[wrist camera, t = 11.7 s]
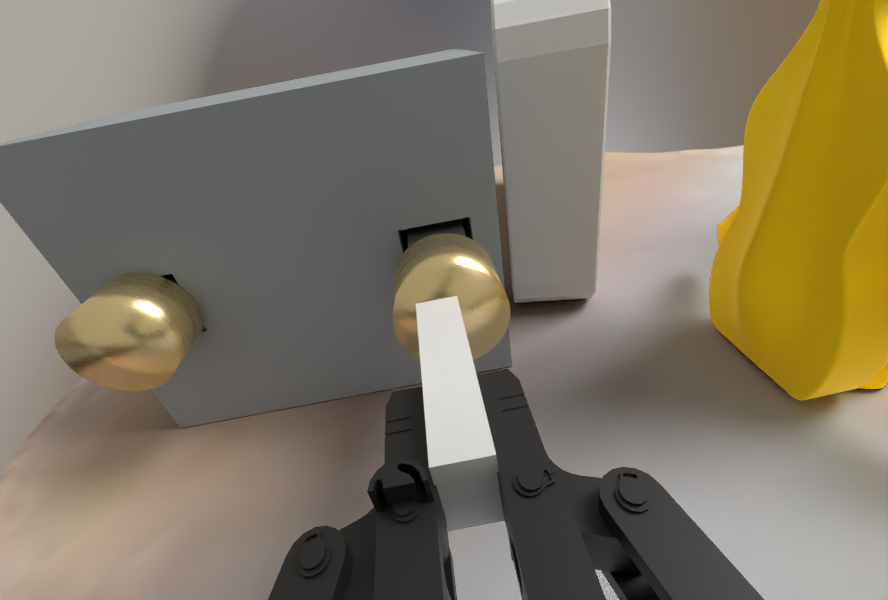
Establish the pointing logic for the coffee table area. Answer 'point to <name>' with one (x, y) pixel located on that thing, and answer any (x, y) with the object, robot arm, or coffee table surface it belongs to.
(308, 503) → the coffee table surface
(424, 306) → the robot arm
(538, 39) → the rounded white slab
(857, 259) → the figure statuette
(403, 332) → the knob
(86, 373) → the knob
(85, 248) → the knob housing
